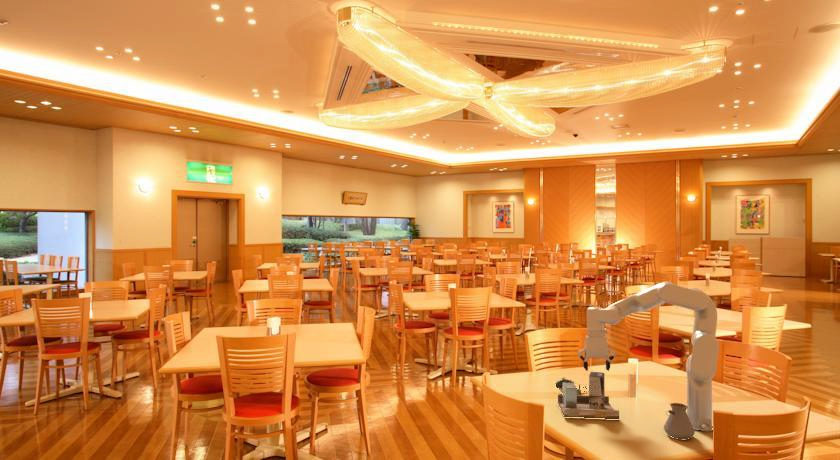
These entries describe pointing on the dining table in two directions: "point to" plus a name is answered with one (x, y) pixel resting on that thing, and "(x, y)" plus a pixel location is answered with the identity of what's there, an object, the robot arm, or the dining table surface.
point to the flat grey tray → (585, 411)
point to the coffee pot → (678, 422)
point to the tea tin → (569, 395)
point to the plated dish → (560, 385)
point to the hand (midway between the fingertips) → (596, 369)
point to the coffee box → (596, 390)
